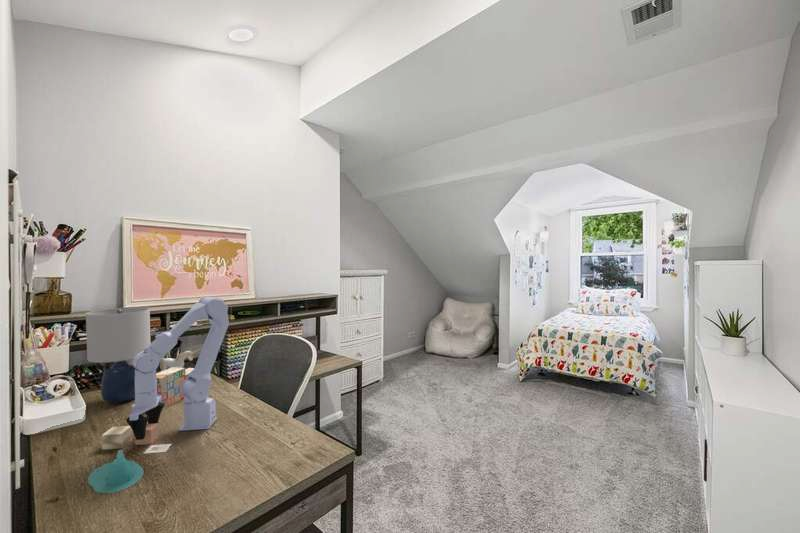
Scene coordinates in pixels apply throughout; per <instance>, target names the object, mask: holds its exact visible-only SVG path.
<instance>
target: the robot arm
mask: <svg viewBox="0 0 800 533" xmlns="http://www.w3.org/2000/svg"><path fill="white" fill-rule="evenodd" d="M193 304H194V305H192V306H191V308H190V309H189V310H188V311H187V312H186V313H185V314H184V316H182V317H181V319H179V321H178V322H177V323H175V325H174V326H172V328H171V329H170V330H169V331H164V332H161V333H160V334H159V333H158V334H156V335H155V337H154V338H155V339H154V340H152V341H151V342H150V343H151V344H150V345H149V346H148V347H147V348H146V347H145V348H143V351H142V352H140V353H138V354H137V355H136V356H135V357H134V358H133V359H132V361H131V365H133V367H135V368H136V369H135V397H134V404H132V405H131V406H130V407H131V409H132V411H131V412H130V413H129V416H128V417H126V424H128V426H130V427H131V428H132V434H133V435H134V439H135V438H136V440H142V439H144V438H145V432H146V425H147V424H154V423H158V424H159V420H160V416H161V413H162V411H163V409H164V408H163V407H164V405H165V404H164V403H159V402H161V396H157V374H156V373H157V369H158V367H159V366H160V363H159V362H160V360H161V359H162V358H165V357H166V355H168V353H169V352H170V351H171V350H172V349H173V348H174V347H175V346H176V345H177V344H178V338H179V337H180V336H181V335H183V334H184V333H185V332H186V331H187V330H188V329H189V328H190V327H192V326H193V325H194V324H195V323H196V322H197V321H201V320H206V319H207V320H208V322H209V324H210V328H209V331H208V333H207V335H206V338H205V341H204V344H203V346H202V348H201V350H200V353H199V356H198V359H197V361H196V364H195V366H194V367H193V368H194V370H193V371H191V372H190V373H189V376H188V378H187V379H186V380H185V381H184V382H183V383H182V386H181V391H182V393H183V394H185V398H183V425H181V427H180V428H179V429H178V431H180V432H181V431H196V430H198V431H199V430H209V429H210V428H211V427H212V425H214V423H215V422H216V420H217V419H218V418H217V401H216V399H215V398H211V397H209V395H210V392H211V386H210V385H211V383H212V377H211V372H212V369H213V367H214V364H215V361H216V358H217V357H218V353H219V351H220V349H221V345H222V343H223V341H224V338H225V336H226V333H227V330H228V328H229V325H230V321H229V314H228V311H229V307H228V305H227V303H226V302H225V301H224V300H223V299H222V298H219V297H212V296H208V295H207V296H203V297H201V298H200V299H199V300H198V302H195V303H193ZM144 413H145V414H146V416H144Z"/></svg>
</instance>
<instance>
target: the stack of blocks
mask: <svg viewBox="0 0 800 533" xmlns="http://www.w3.org/2000/svg"><path fill="white" fill-rule="evenodd" d="M168 368H169V367H168ZM168 368H166V370H164V371H161V370H160V371H161V372H160V371H159V372H156V374H157V396H161V402H159V403H164V404H165V405H164V407H163V409H164V408H167V407H169V406H171V405H172V404H173V405H174V404H175V403H177V402H178V401H181V400H184V398H185V394H183V393H182V391H181V386H182V383H183V382H184V381H185V380H186V379H187V378H188V376H189V373H190V372H191V371H193V370H194V368H195V367H188V368H185V367H183V368H176V367H172V368H169V369H168Z"/></svg>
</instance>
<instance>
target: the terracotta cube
mask: <svg viewBox="0 0 800 533" xmlns="http://www.w3.org/2000/svg"><path fill="white" fill-rule="evenodd" d="M159 437H160V432H159V422H158V423H154V424H148V423H147V425H146V432H145V438H144V439H142V440H136V438H135V437H134V439H135V440H134V441H135V442H134V443H135V445H136V446H137V445H138V446H139V445H152V444H153V443H154V442H155V441H156V440H157V439H158V438H159Z"/></svg>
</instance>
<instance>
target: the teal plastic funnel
mask: <svg viewBox="0 0 800 533" xmlns="http://www.w3.org/2000/svg"><path fill="white" fill-rule="evenodd" d="M144 473H145V472H144V468H143V467H142V466H141V465H140V464H138V463H137V462H136V461H133V460H127V458H126V457H125V454H124V451H123V450H122V449H120V450H118V451H117V454H116V458H115V459H114V460H113V461H111V462H107V463H104V464H103V465H101V466H99V467H97V468H95V469H94V470H92V471H91V473H89V475H88V479H87V482H88V484H89V485H90V486H91V487H93V489H94V491H95V492H97V493H100V494H113V493H116V492H118V491H123V490H125V489H127V488H130V487H132V486H134V485H135V484H137V483H138V482H139V481H140V480H141V478H143V476H144Z"/></svg>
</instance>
